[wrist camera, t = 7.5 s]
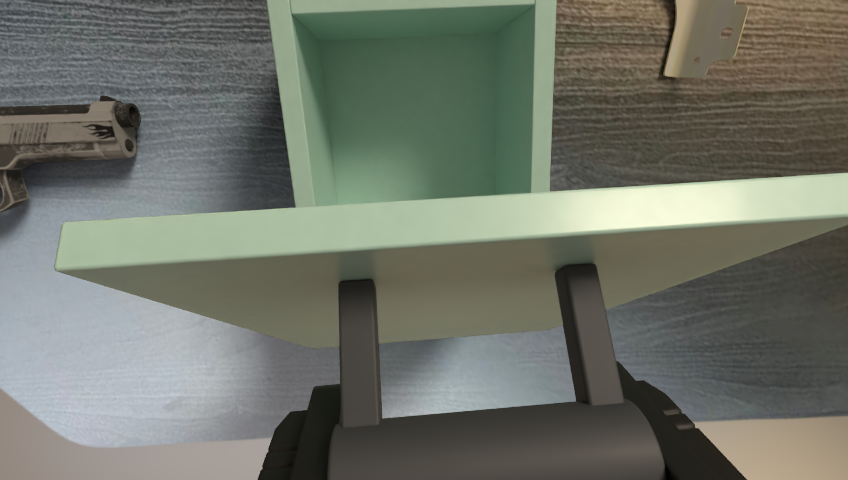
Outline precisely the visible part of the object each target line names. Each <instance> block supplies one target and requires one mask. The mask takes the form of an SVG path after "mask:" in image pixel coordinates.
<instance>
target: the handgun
mask: <svg viewBox="0 0 848 480" xmlns="http://www.w3.org/2000/svg"><path fill="white" fill-rule="evenodd" d="M140 122H141V117H140V113H139V110H138V108H137V107H136V105H134V104H132V103H128V104H123V103H122V102H121V101H117V100H115V99H113V98H111V97H108V96H101V97H100V101H95V102H92V104H91V105H55V106H18V107H0V185H1V188H2V192H3V199H2V202H1V204H0V212H3V211H6V210H9V209H12V208H14V207H17V206H19V205H20V204H22V203H24V202H25V201H26V200H28V199H29V195H28V192H27V189H26V186H25V183H24V180H23V176H22V168H26V167H28V166H30V165H32V164H33V163H35V162H55V161H81V160H108V159H115V158H131V157H134V156H135V154H136V152H137V143H136V139H135V137H137V134H136V130H135V127H139V125H140Z"/></svg>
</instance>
